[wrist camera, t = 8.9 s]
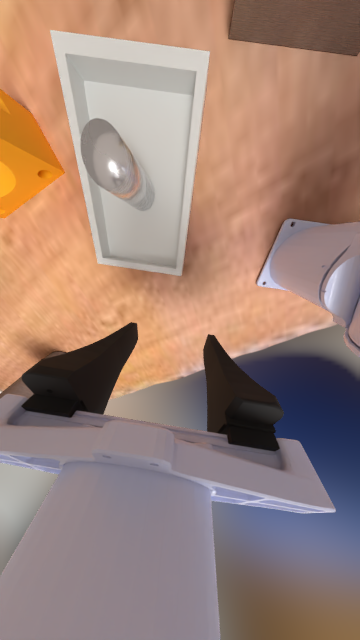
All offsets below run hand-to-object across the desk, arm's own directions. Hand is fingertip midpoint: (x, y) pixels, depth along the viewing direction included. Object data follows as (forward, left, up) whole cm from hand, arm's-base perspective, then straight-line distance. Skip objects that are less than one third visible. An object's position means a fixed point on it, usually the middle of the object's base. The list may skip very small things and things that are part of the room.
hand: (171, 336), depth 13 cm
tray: (+6, -12, -10) cm, 17 cm away
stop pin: (+6, -12, -10) cm, 17 cm away
